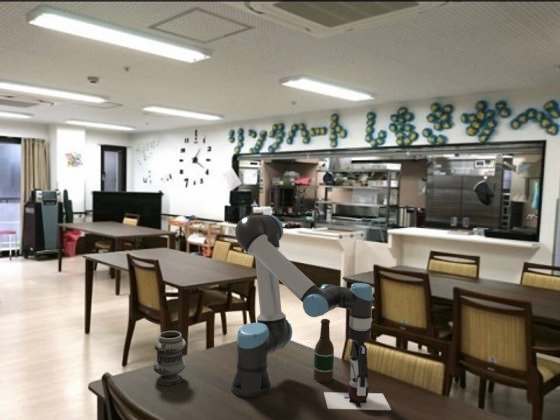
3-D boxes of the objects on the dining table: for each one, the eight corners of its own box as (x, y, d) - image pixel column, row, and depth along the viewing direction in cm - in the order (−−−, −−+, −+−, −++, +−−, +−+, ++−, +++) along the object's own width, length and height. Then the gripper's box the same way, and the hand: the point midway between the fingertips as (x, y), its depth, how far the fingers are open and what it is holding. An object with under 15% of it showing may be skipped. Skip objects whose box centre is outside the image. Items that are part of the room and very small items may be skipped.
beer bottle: (320, 373, 186) (322, 315, 184) (336, 378, 181) (339, 319, 179) (309, 379, 180) (311, 319, 178) (325, 385, 175) (328, 324, 173)
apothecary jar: (161, 389, 167) (162, 341, 166) (148, 378, 176) (148, 332, 175) (190, 381, 175) (191, 335, 174) (176, 370, 184) (177, 327, 183)
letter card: (327, 409, 157) (327, 408, 157) (323, 392, 169) (323, 392, 169) (391, 410, 157) (391, 409, 157) (382, 394, 169) (382, 393, 169)
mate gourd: (369, 407, 158) (371, 365, 157) (347, 406, 158) (348, 364, 157) (365, 397, 166) (367, 357, 165) (344, 396, 166) (345, 356, 165)
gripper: (379, 340, 148) (376, 403, 149) (363, 317, 173) (361, 371, 174) (356, 339, 148) (353, 403, 149) (343, 316, 173) (341, 371, 174)
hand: (357, 386), depth 162 cm, fingers open, 13 cm apart
